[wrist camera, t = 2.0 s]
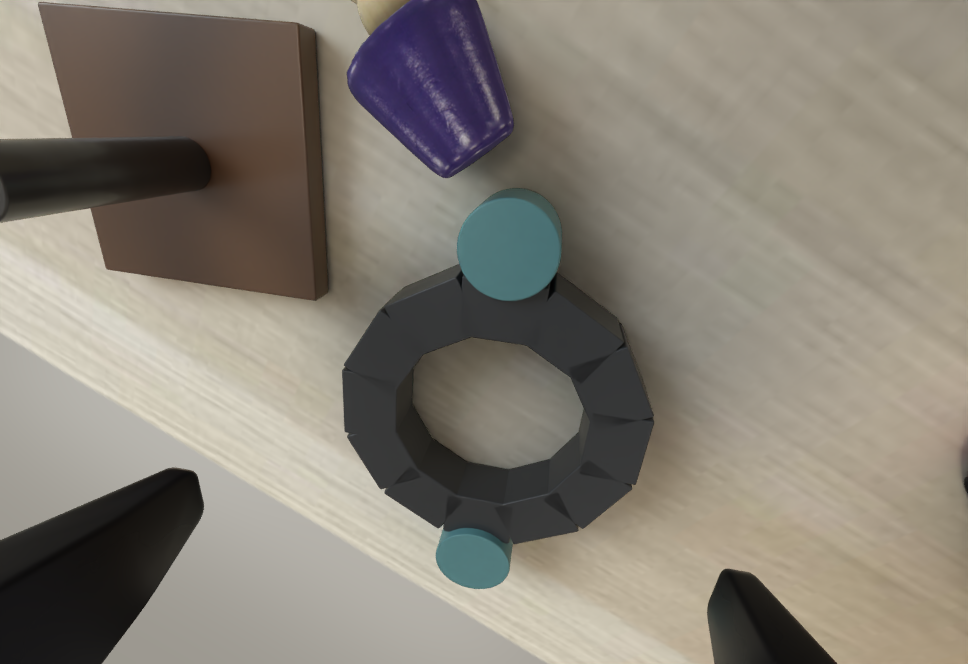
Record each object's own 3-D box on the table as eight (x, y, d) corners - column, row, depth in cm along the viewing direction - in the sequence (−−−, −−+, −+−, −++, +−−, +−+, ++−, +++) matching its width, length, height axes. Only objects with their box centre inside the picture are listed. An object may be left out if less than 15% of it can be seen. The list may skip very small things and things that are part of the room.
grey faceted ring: (695, 208, 17) (718, 222, 14) (596, 566, 25) (599, 616, 22) (360, 169, 18) (327, 175, 16) (367, 519, 26) (345, 562, 23)
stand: (315, 29, 16) (97, -60, 9) (329, 292, 21) (188, 389, 13) (68, 9, 18) (-319, -86, 10) (128, 263, 22) (-112, 335, 14)
